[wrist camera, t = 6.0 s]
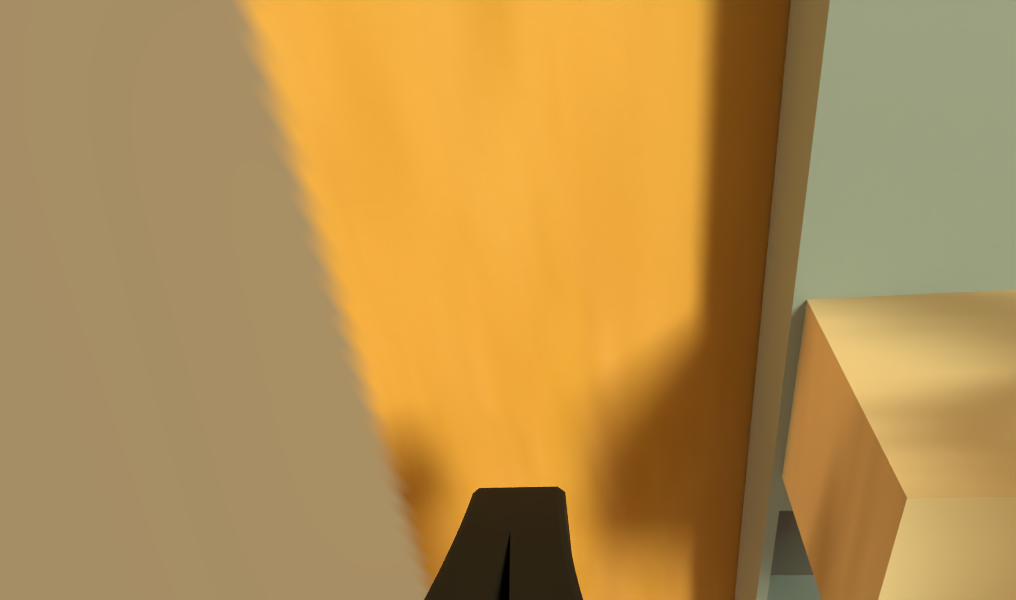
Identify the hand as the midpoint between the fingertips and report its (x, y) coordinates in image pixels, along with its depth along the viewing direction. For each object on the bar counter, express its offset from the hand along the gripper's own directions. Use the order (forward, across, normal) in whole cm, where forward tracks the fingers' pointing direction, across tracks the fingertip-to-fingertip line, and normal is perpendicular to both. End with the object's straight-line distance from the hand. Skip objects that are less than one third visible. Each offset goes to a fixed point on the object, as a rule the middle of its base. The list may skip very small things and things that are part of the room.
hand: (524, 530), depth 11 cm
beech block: (+3, -7, 0) cm, 8 cm away
